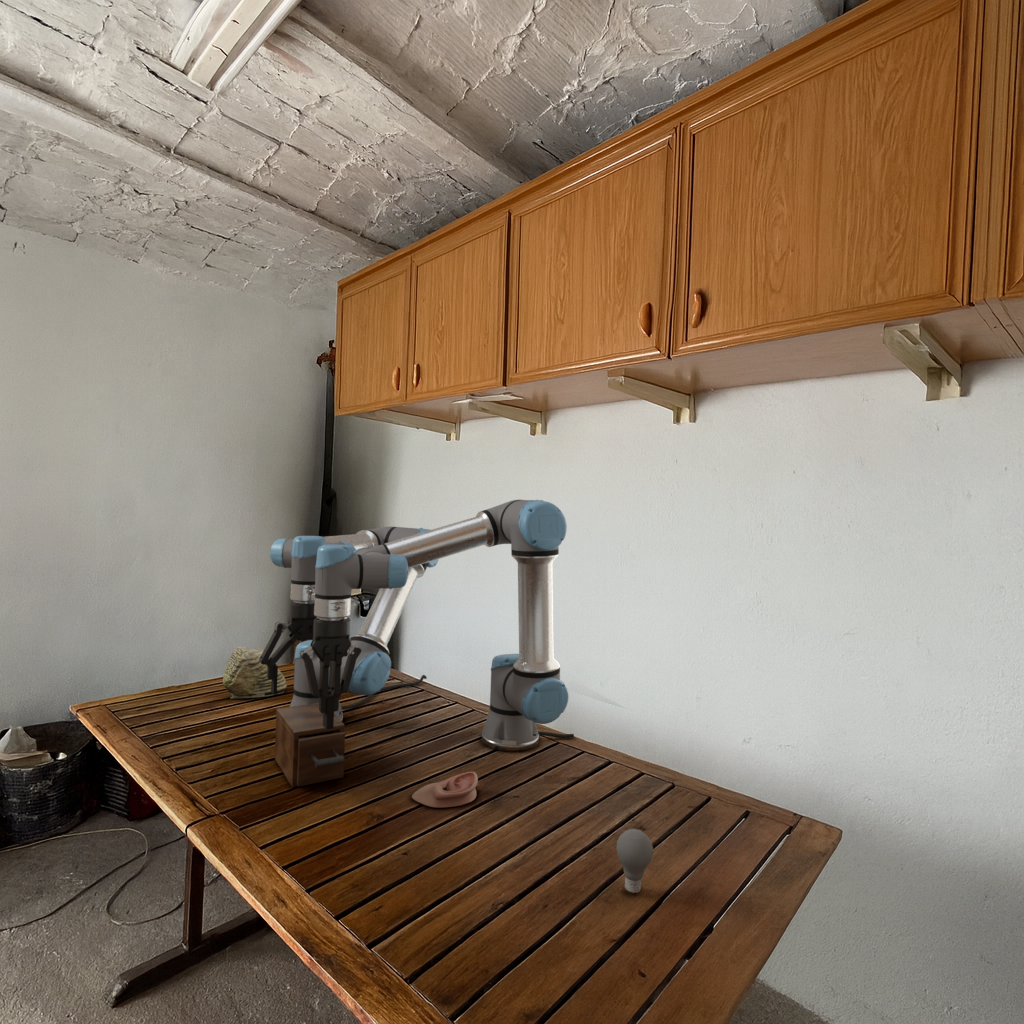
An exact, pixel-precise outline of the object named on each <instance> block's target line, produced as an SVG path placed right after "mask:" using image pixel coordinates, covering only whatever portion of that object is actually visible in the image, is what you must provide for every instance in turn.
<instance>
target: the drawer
mask: <svg viewBox="0 0 1024 1024" xmlns="http://www.w3.org/2000/svg"><path fill="white" fill-rule="evenodd" d="M345 747H346V732H345V731H344V732H338V733H337V731H329V732H323V733H317V734H311V735H305V736H299V739H298V765H297V786H296V787H298V788H299V787H303V786H309V785H312V784H317V783H323V782H327V781H332V780H337V779H342V778H344V777H345V775H344V774H345Z"/></svg>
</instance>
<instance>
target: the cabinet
mask: <svg viewBox="0 0 1024 1024" xmlns="http://www.w3.org/2000/svg"><path fill="white" fill-rule="evenodd" d="M275 714H276V715H275V737H274V760H275V762H276V763H277V765H278V766H279V768H280V770H281V772H282V773H283V775H284V776H285V778H286V779H287V781H288V783H289V784H290V787H292V788H295V787H298V786H297V765H298V739H299V736H305V735H311V734H317V733H323V732H329V731H337V733H338V732H344V733H345V723H344V722H341V721H340V720H339V719H338V718H337V717H336V716H335V715H334V726H333V729H327V730H326V728H325V727H324V726H323V713H321V712H320V711H319V703H316V704H308V705H301V706H293V707H290V706H287V707H280V708H276V710H275Z"/></svg>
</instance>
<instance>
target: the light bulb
mask: <svg viewBox="0 0 1024 1024" xmlns="http://www.w3.org/2000/svg"><path fill="white" fill-rule="evenodd" d="M615 849H616V854H617V857H618V859H619V861H620V863H621V865H622V867H623V873H624V874H623V875H624V876H625V878H624V888H625V890H627V891H628V892H630V893H634V894H635V893H639V892H640V891H641V889H642V887H641V886H642V879H643V877H644V875H645V871H646V868H647V867H648V866H649V864H650V863H651V861H652V859H653V855H654V847H653V843H652V841H651V838H649V836H648V835H647V834H646V833H645V832H643V831H642V830H641V829H636V828H629V829H627V830H625V831H623V832H622V833H621V834H620V835H619V837H618V839H617V841H616V847H615Z"/></svg>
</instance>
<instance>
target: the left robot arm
mask: <svg viewBox="0 0 1024 1024" xmlns="http://www.w3.org/2000/svg"><path fill="white" fill-rule="evenodd" d="M429 530H431V529H429V528H423V527H420V528H416V527H415V528H413V527H403V526H383V527H378V528H377V527H375V528H369V529H362V530H359V531H357V532H356V533H354V534H353V533H352V534H342V535H341V534H340V535H328V536H322V535H321V536H320V535H318V536H317V535H297V536H295V537H294V538H289V537H287V538H278V539H276V540H275V541H274V542H273V543H272V544H271V546H270V550H269V551H270V553H269V554H270V555H269V556H270V557H269V558H270V561H271V562H272V564H274V566H276V567H280V568H284V569H291V575H290V576H291V577H290V578H291V579H290V595H289V597H290V598H289V599H290V600H291V602H290V603H289V621H288V622H280V621H276V622H275V623H274V629H273V633H272V634H271V636H270V638H269V640H268V641H267V644H266V645H265V647H264V649H263V650H264V651H263V653H262V655H261V656H260V658H259V661H260V662H261V664H263V665H264V664H265V665H267V677H268V679H269V680H271V692H272V693H273V695H272V696H275V694H276V695H278V694H277V677H278V669H279V666H278V664H277V663H278V661H279V660H280V659H281V658H282V657H283V655H284V654H286V652H287V651H288V650H289V649H290V647H291V646H292V645H293V644H294V643H295V642H296V641H299V643H298V644H297V645H296V647H295V652H294V653H295V654H294V657H293V660H294V661H293V662H294V663H293V664H294V668H293V695H292V696H293V697H292V699H291V702H290V704H289V707H293V706H301V705H308V704H316V703H319V697H315V696H314V695H313V694H312V693H311V692H310V687H309V682H308V678H307V673H306V668H305V664H304V661H303V659H302V658H301V656H300V655H299V653H300V652H301V651H305V650H306V649H308V648H309V647H311V646H310V645H311V642H312V640H313V628H314V619H315V618H316V616H315V615H314V604H315V574H316V568H315V566H316V560H317V550H318V548H319V547H320V546H322V545H327V544H338V545H350V546H352V547H353V552H354V551H356V550H357V549H360V548H371V547H375V546H378V545H382V544H385V543H388V542H392V541H395V540H398V539H402V538H405V537H409V536H412V535H416V534H419V533H422V532H426V531H429ZM439 560H440V559H437V560H434V561H431V562H427V563H424V564H421V565H418V566H415V567H411V568H408V579H407V582H406V584H405V586H404V587H402V588H392V589H389V588H387V589H378V592H377V594H376V596H375V598H374V600H373V602H372V604H371V606H370V609H369V610H368V613H367V615H366V617H365V618H364V621H363V623H362V625H361V628H360V630H359V632H358V634H354V635H352V636H350V640H351V642H352V645H354V646H357V647H359V648H360V649H361V653H360V655H359V656H358V658H357V659H356V663H355V667H354V670H353V674H352V678H351V682H350V685H349V689H348V692H347V693H350V694H354V695H356V696H361V695H362V696H366V697H365V698H362V699H361V700H359V701H355V702H354V703H351V704H347V705H341V702H340V701H339V709H338V711H335V712H334V715H335V716H336V717H337V718H338V719H339V720H340V721H341V722H342V723H344V714H343V710H346V709H347V710H348V709H352V708H355V707H357V706H360V705H362V704H364V703H366V702H367V701H369V700H370V699H371V698H372V697H373V696H374V695H375V694H377V693H379V692H383V691H387V690H391V689H396V688H397V689H398V688H403V687H411V686H417V685H419V684H421V683H422V682H423V681H424V680H427V679H428V678H427V675H425V674H422V675H421V676H420V679H419V680H417V681H414V682H408V683H397V684H393V685H388V686H385V685H386V683H387V682H388V680H389V678H390V675H391V671H392V670H391V668H392V660H391V657H390V656H389V655H390V650H389V648H388V644H389V642H390V640H391V637H392V635H393V633H394V631H395V628H396V625H397V624H398V621H399V619H400V617H401V615H402V612H403V610H404V608H405V605H406V603H407V601H408V599H409V597H410V595H411V592H412V590H413V588H414V585H415V583H416V581H417V579H419V578H422V577H423V576H424V575H425V573H426V570H427V568H434V567H436V566H437V564H438V562H439ZM286 629H288V631H289V634H287V636H286V638H285V639H284V640H283V642H282V643H280V645H279V646H278V647H277V648H276V646H277V644H278V642H279V640H280V638H281V636H282V633H284V632H285V631H286ZM275 648H276V649H275ZM274 649H275V650H274ZM348 650H349V649H348ZM273 651H274V652H273ZM348 654H349V653H348V651H347V652H346V653H345V655H344V656H343V658H342V665H341V676H340V683H341V679H342V675H343V672H344V668H345V664H346V660H347V657H348ZM311 660H312V662H313V666H314V670H315V675H316V680H317V684H318V689H319V678H320V662H319V661H320V659H319V658H318V657H317V655H316V654H315V653H314V652H313V658H312V659H311ZM331 676H332V662H331V661H330V666H329V678H328V695H332V693H331Z"/></svg>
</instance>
